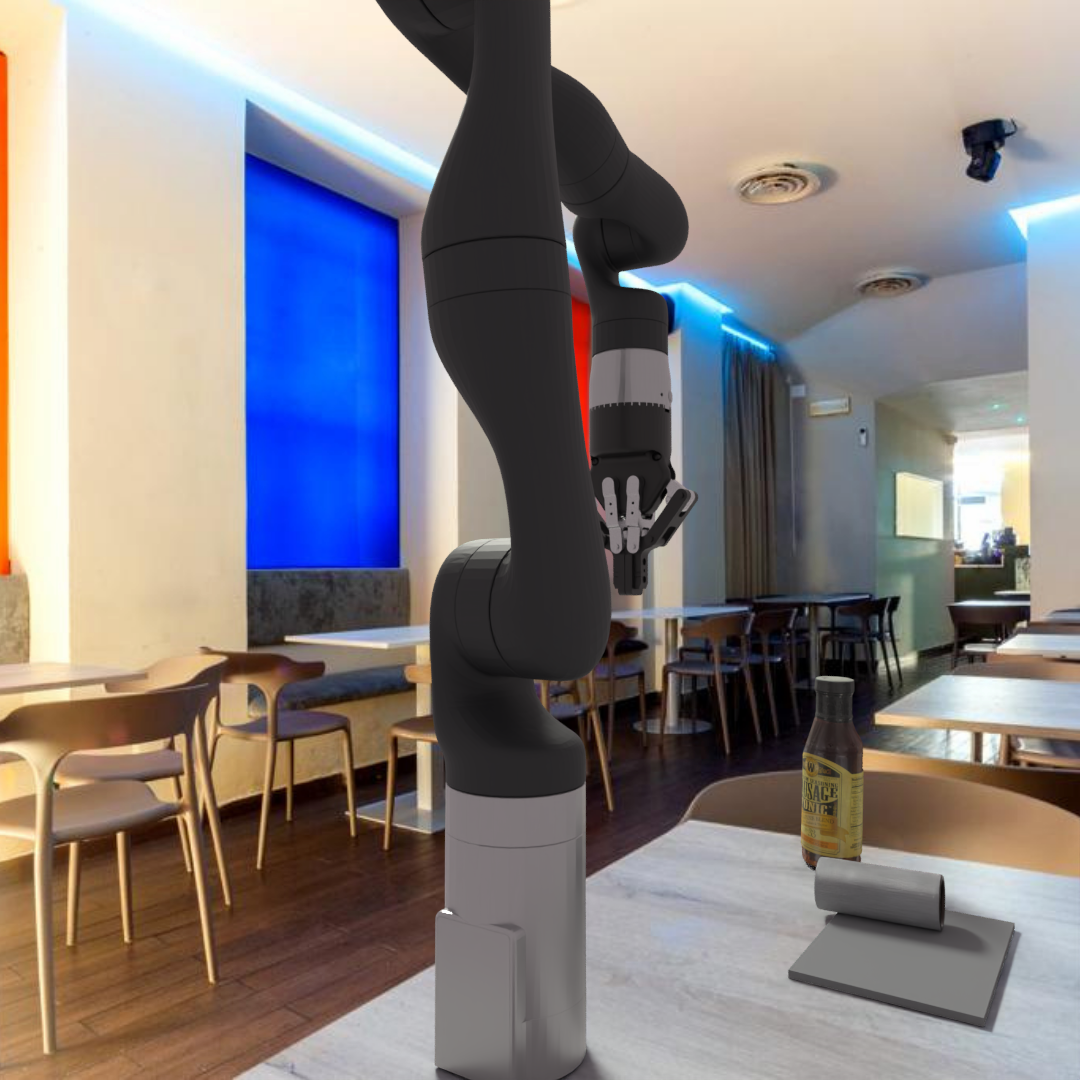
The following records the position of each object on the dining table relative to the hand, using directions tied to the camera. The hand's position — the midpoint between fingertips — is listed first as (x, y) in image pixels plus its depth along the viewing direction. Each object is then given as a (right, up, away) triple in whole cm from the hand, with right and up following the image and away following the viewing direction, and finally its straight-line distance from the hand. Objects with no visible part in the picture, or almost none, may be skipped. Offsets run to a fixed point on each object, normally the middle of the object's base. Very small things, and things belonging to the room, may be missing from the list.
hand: (630, 595), depth 81 cm
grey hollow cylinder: (+17, -26, 0) cm, 31 cm away
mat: (+22, -29, -8) cm, 37 cm away
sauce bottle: (+23, -30, +14) cm, 40 cm away
